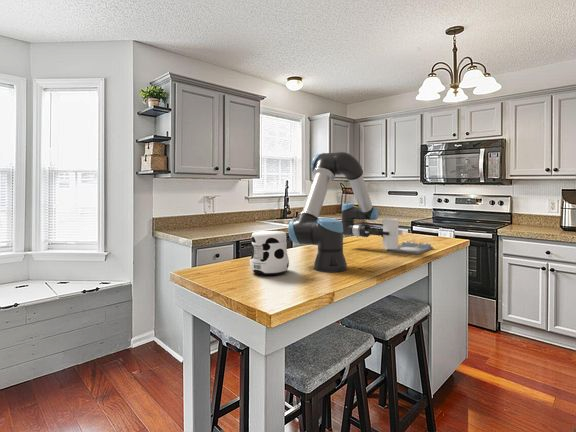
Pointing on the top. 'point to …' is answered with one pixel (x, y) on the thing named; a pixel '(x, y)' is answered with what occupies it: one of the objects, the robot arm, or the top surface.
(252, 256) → the milk container
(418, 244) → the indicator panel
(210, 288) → the top surface
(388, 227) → the cup
